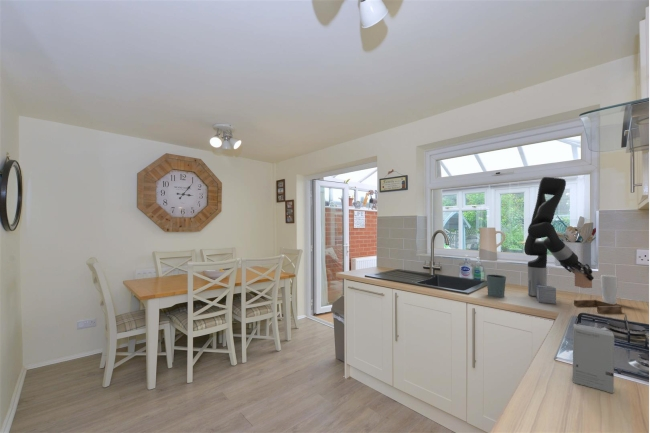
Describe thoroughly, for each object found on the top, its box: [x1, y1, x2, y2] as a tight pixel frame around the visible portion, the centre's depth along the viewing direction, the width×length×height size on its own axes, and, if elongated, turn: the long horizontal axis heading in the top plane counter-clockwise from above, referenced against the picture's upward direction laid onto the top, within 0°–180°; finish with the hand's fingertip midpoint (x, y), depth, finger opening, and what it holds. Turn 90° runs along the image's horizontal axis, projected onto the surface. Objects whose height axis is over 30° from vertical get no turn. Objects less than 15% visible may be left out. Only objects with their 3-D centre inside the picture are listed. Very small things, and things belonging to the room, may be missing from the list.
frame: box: [573, 299, 623, 314], centre depth 148 cm, size 12×13×3 cm
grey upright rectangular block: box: [572, 323, 615, 394], centre depth 79 cm, size 8×6×15 cm
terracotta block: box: [574, 268, 593, 289], centre depth 143 cm, size 4×4×9 cm
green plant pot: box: [486, 274, 507, 298], centre depth 176 cm, size 10×10×12 cm
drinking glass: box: [600, 274, 619, 305], centre depth 160 cm, size 7×7×15 cm
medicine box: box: [536, 285, 557, 305], centre depth 162 cm, size 8×4×9 cm, turn 65°
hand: (586, 278), depth 144 cm, fingers closed on terracotta block, 4 cm apart
